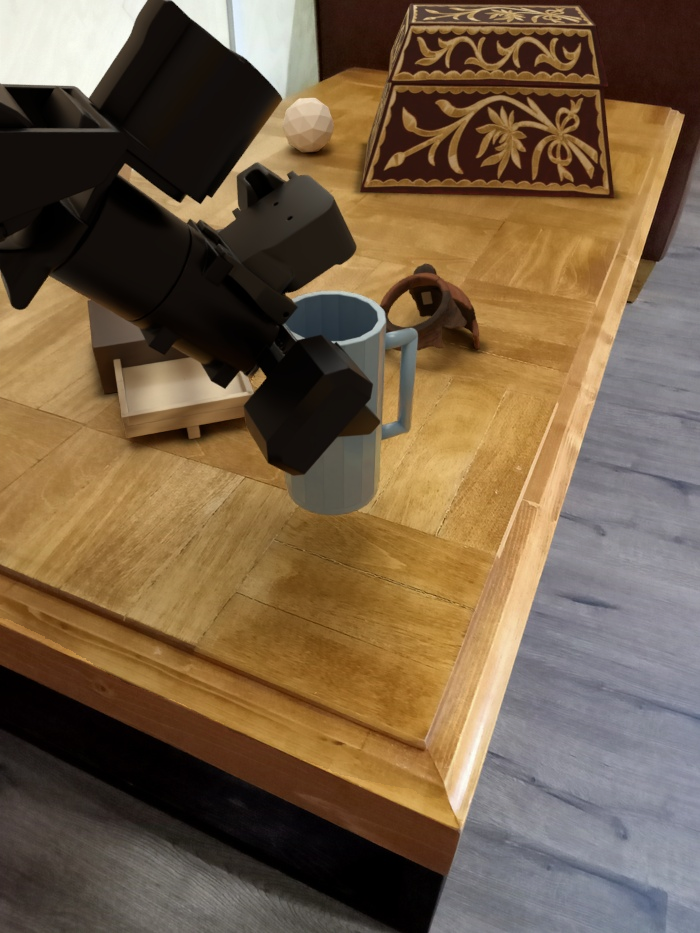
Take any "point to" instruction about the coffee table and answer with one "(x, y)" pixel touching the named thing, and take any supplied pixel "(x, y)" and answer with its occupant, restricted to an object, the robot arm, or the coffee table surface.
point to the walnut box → (158, 381)
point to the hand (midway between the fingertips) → (351, 398)
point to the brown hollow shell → (433, 307)
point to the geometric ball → (308, 125)
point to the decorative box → (492, 104)
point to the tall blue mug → (358, 457)
